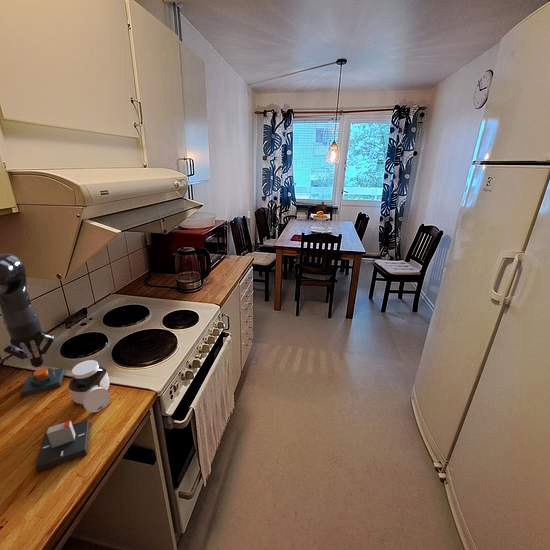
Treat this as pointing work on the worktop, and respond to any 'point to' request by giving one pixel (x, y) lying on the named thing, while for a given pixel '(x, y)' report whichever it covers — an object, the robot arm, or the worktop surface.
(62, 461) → the fryer panel
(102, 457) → the worktop surface
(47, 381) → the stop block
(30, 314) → the robot arm
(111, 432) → the worktop surface
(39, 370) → the stop button
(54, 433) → the knob
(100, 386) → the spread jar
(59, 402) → the worktop surface
